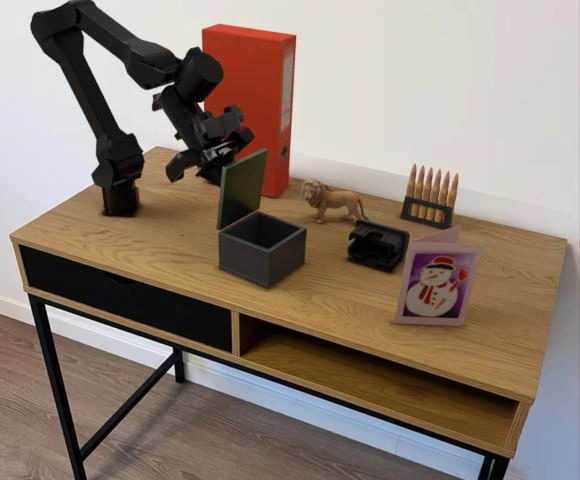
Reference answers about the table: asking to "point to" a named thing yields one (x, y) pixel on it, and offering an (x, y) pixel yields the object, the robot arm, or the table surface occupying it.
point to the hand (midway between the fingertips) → (238, 195)
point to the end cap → (377, 245)
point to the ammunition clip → (430, 199)
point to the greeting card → (437, 279)
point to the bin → (262, 248)
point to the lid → (241, 188)
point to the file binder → (256, 92)
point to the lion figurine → (330, 199)
